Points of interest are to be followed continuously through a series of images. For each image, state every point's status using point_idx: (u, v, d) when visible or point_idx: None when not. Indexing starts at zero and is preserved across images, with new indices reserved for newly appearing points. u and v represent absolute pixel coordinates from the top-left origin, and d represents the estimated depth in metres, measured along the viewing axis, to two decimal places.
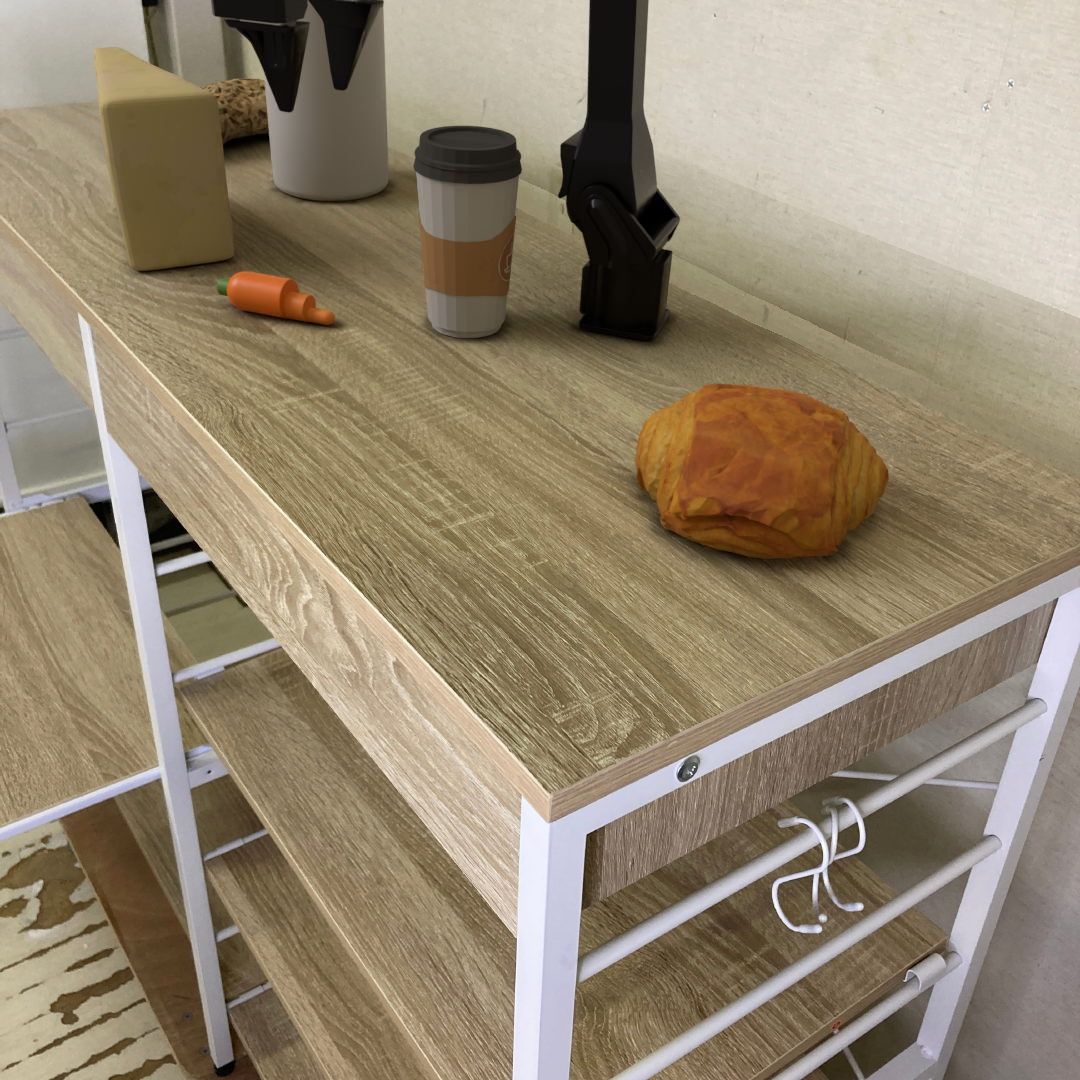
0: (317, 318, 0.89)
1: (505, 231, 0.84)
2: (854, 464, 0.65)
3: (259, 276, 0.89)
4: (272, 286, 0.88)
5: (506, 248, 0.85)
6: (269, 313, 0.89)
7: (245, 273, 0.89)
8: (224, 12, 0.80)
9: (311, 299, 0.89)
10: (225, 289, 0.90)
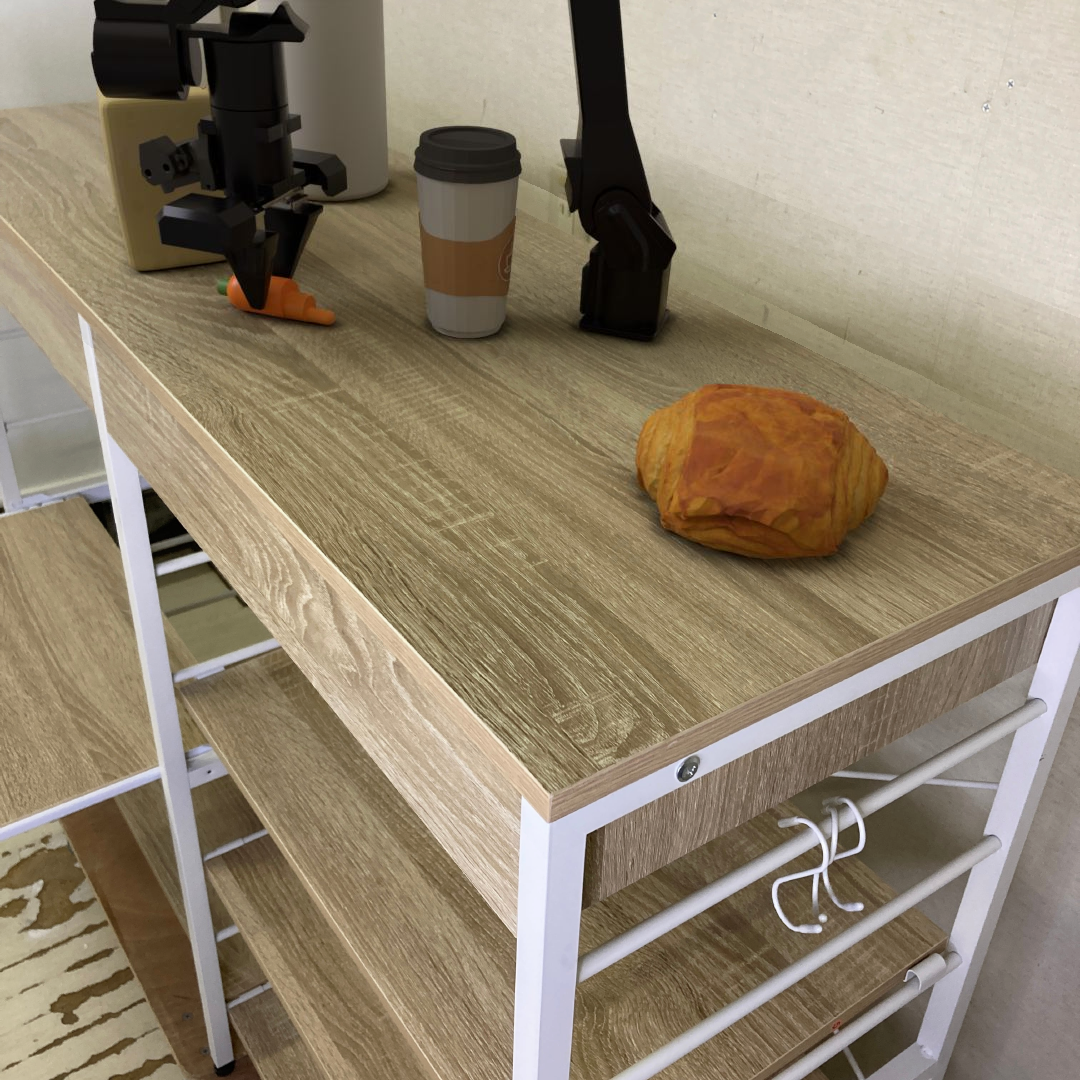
0: (317, 318, 0.89)
1: (505, 231, 0.84)
2: (854, 464, 0.65)
3: None
4: (272, 286, 0.88)
5: (506, 248, 0.85)
6: (269, 313, 0.89)
7: None
8: (171, 241, 0.79)
9: (312, 299, 0.89)
10: (225, 289, 0.90)
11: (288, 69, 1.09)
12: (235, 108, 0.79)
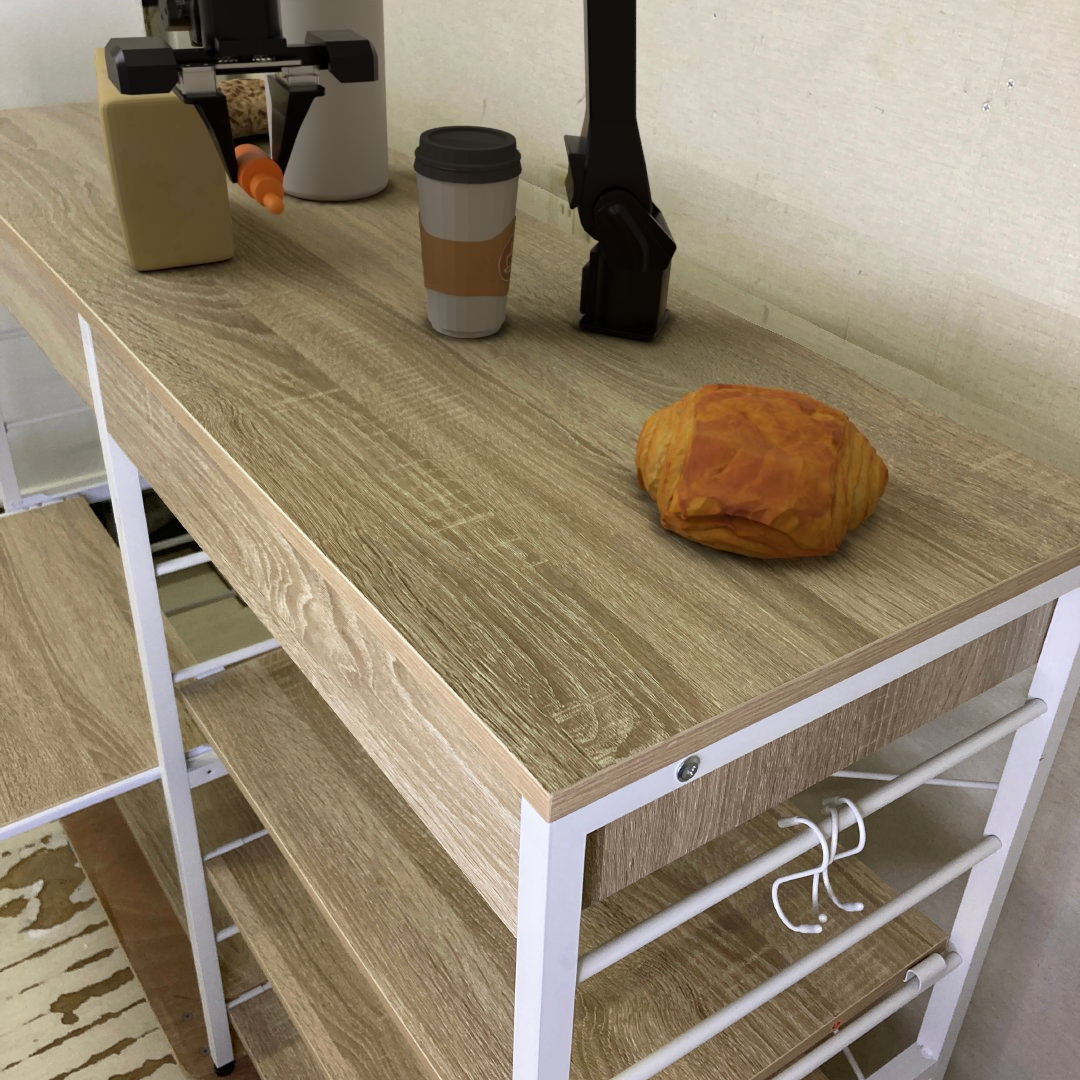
0: (266, 204, 0.81)
1: (505, 231, 0.84)
2: (854, 464, 0.65)
3: (249, 150, 0.84)
4: (245, 160, 0.82)
5: (506, 248, 0.85)
6: None
7: (246, 145, 0.85)
8: (109, 75, 0.78)
9: (275, 184, 0.82)
10: None
11: None
12: None
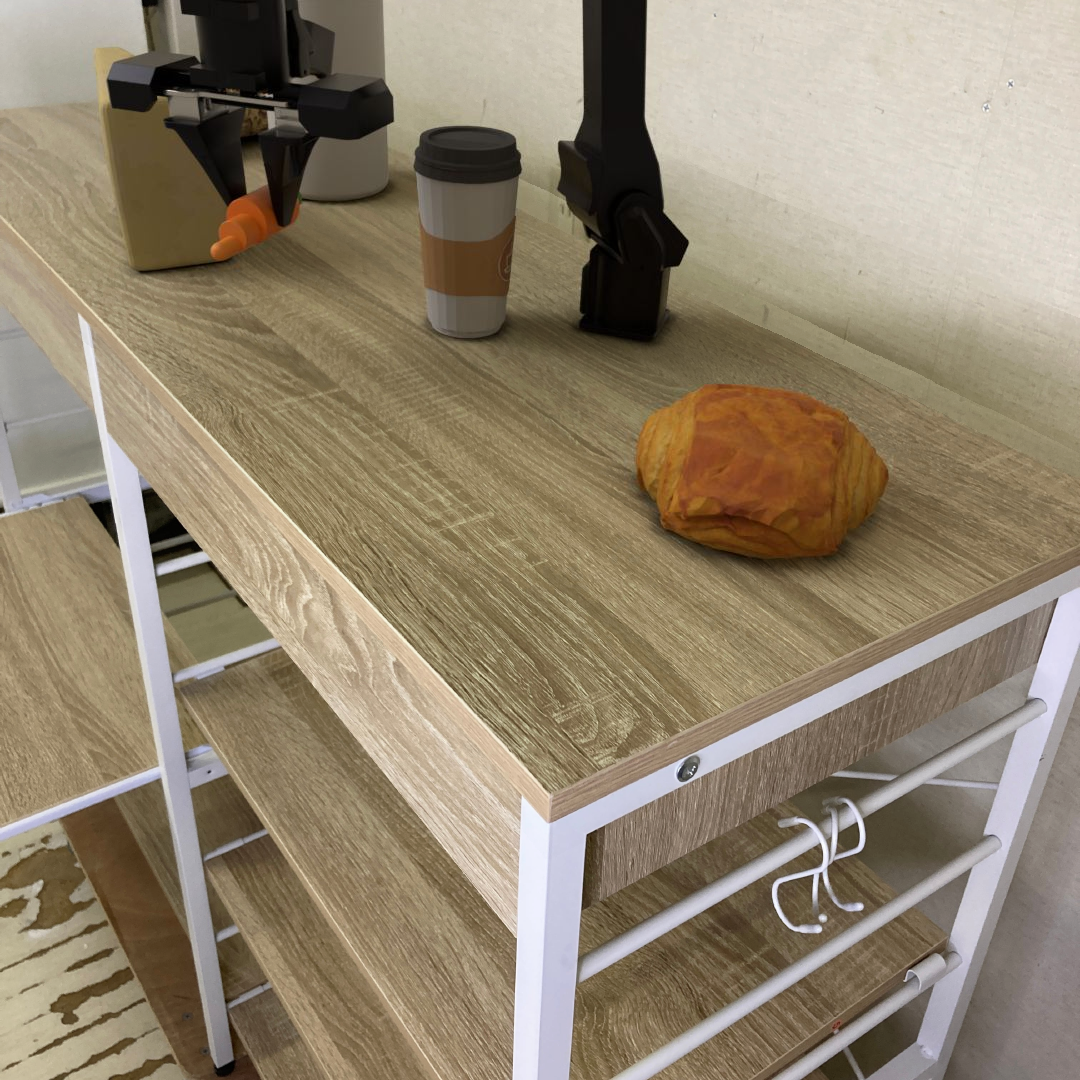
0: None
1: (505, 231, 0.84)
2: (854, 463, 0.65)
3: (261, 189, 0.77)
4: (239, 198, 0.76)
5: (506, 248, 0.85)
6: None
7: None
8: None
9: (237, 229, 0.74)
10: None
11: None
12: None
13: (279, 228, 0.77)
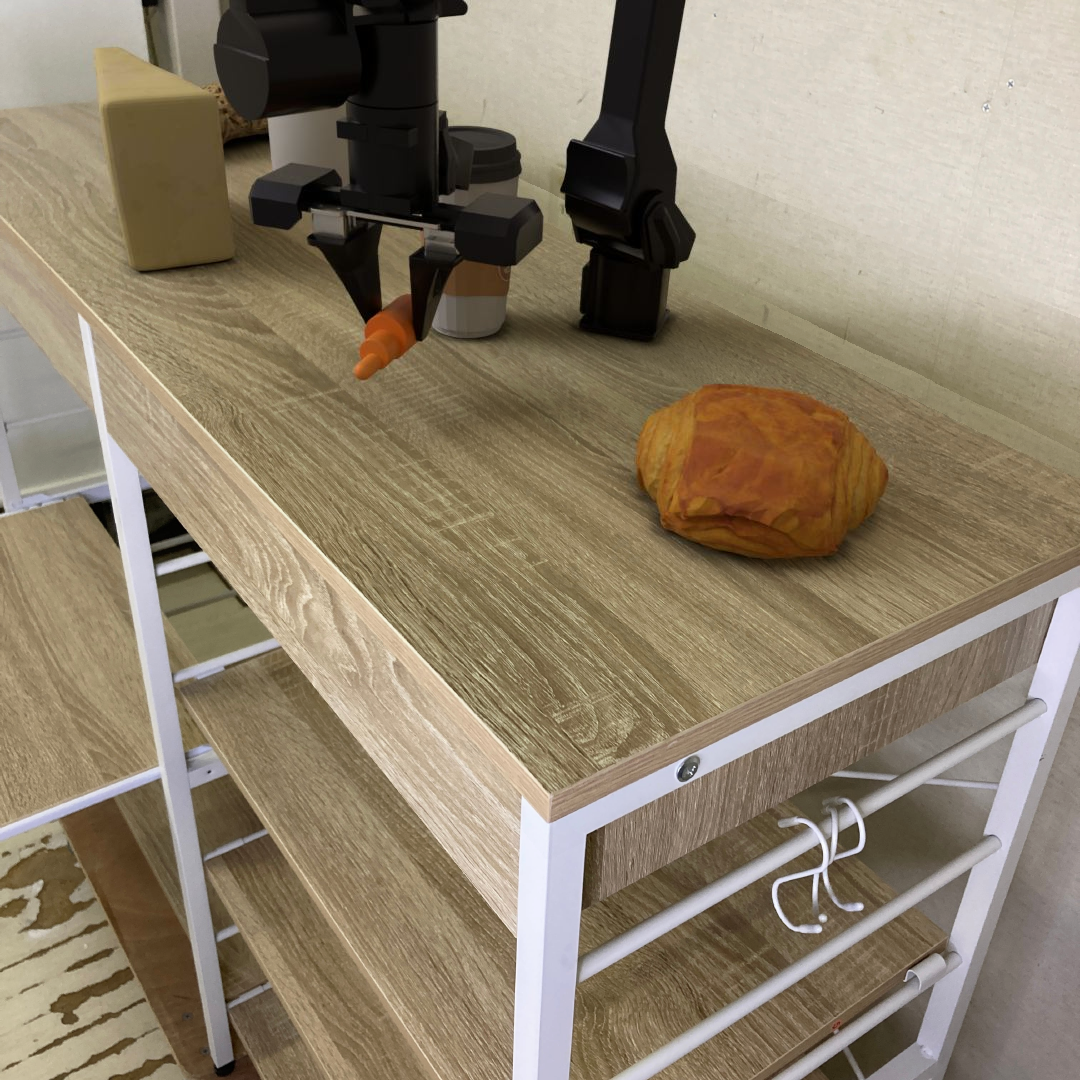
0: None
1: None
2: (854, 464, 0.65)
3: (398, 302, 0.75)
4: (378, 313, 0.74)
5: None
6: None
7: (408, 295, 0.76)
8: None
9: (379, 348, 0.72)
10: None
11: None
12: (413, 105, 0.65)
13: (416, 342, 0.76)
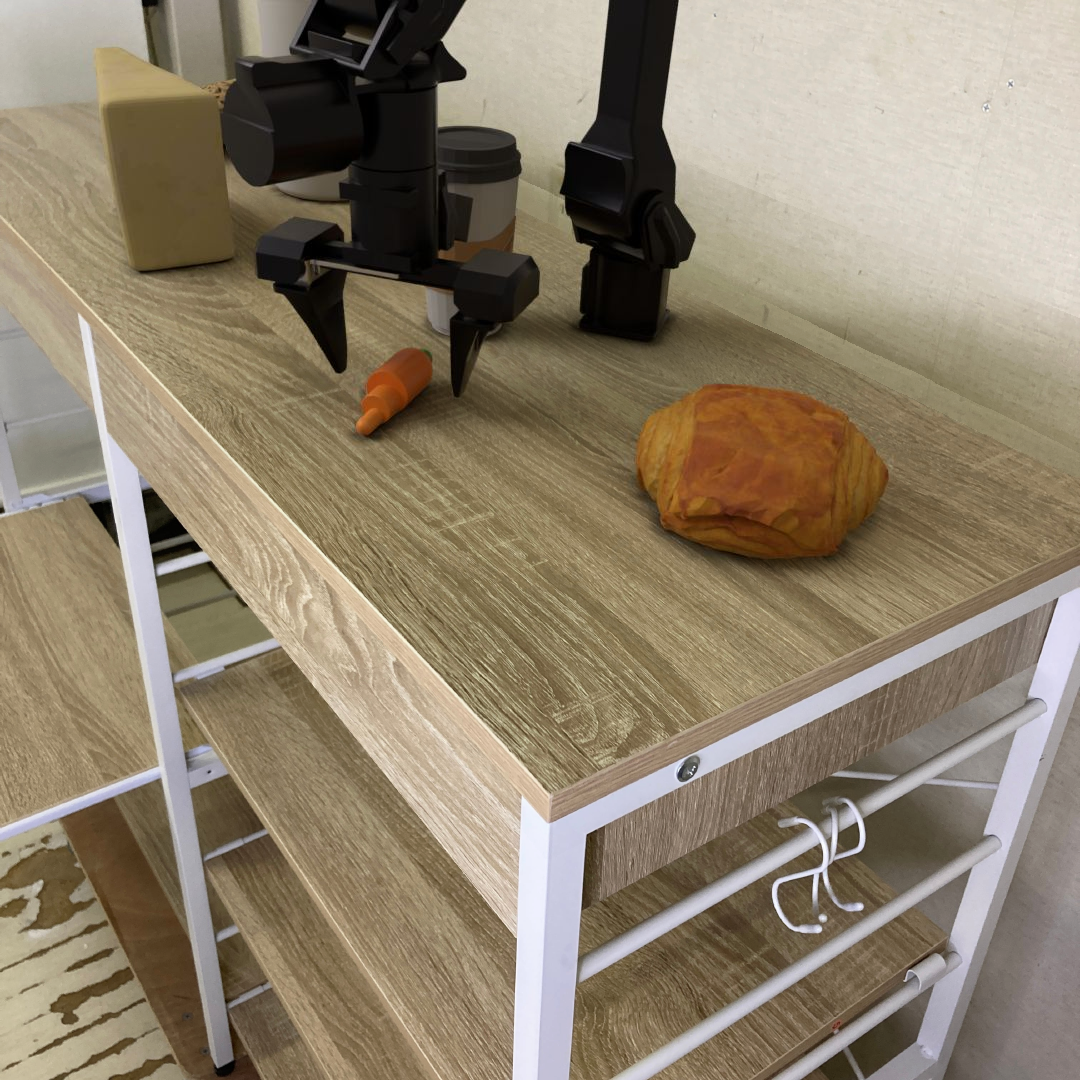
0: None
1: (505, 231, 0.84)
2: (854, 464, 0.65)
3: (399, 357, 0.78)
4: (379, 368, 0.77)
5: (506, 248, 0.85)
6: None
7: (408, 350, 0.79)
8: None
9: (381, 403, 0.75)
10: None
11: None
12: (413, 168, 0.67)
13: (416, 394, 0.78)
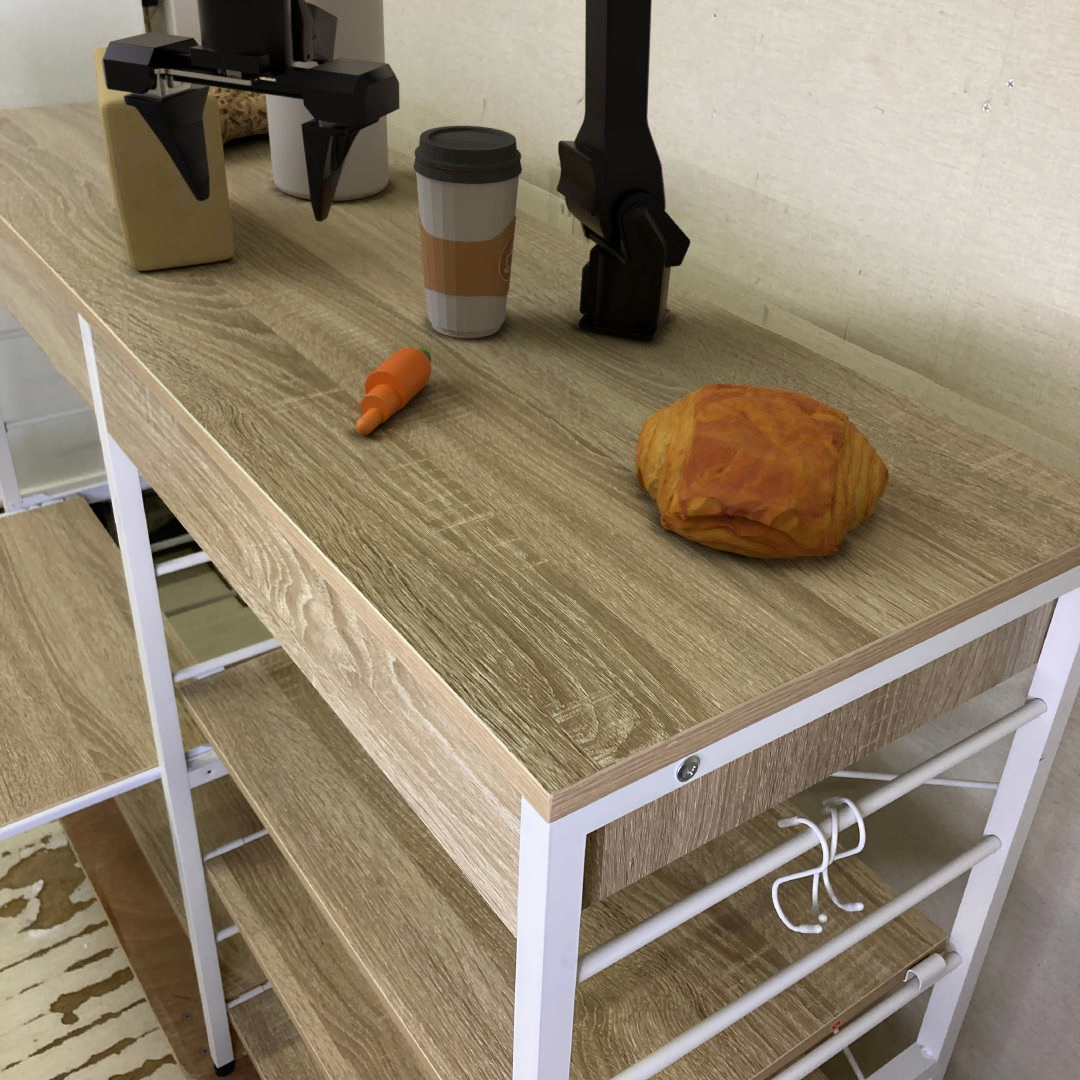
0: None
1: (505, 231, 0.84)
2: (854, 464, 0.65)
3: (396, 357, 0.78)
4: None
5: (506, 248, 0.85)
6: None
7: (405, 349, 0.79)
8: None
9: (379, 402, 0.75)
10: None
11: None
12: None
13: (415, 393, 0.78)
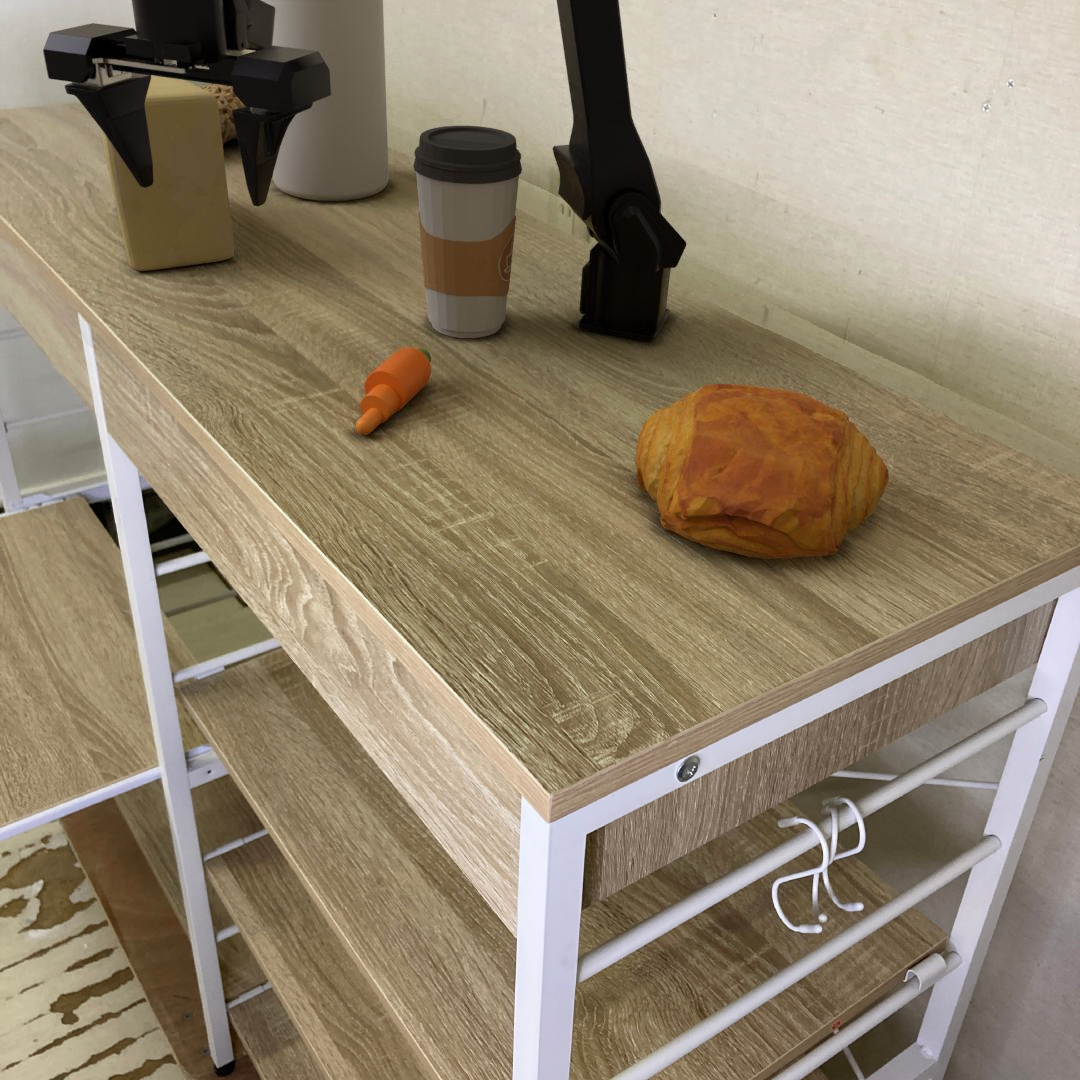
0: None
1: (505, 231, 0.84)
2: (854, 464, 0.65)
3: (396, 357, 0.78)
4: None
5: (506, 248, 0.85)
6: None
7: (405, 349, 0.79)
8: None
9: (379, 402, 0.75)
10: None
11: None
12: None
13: (415, 393, 0.78)
